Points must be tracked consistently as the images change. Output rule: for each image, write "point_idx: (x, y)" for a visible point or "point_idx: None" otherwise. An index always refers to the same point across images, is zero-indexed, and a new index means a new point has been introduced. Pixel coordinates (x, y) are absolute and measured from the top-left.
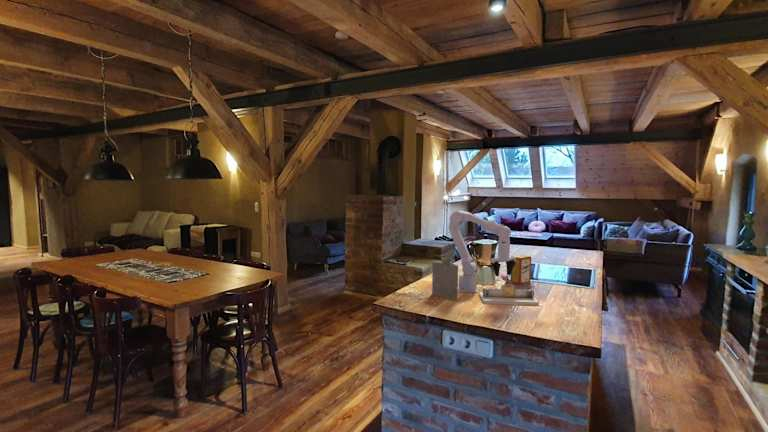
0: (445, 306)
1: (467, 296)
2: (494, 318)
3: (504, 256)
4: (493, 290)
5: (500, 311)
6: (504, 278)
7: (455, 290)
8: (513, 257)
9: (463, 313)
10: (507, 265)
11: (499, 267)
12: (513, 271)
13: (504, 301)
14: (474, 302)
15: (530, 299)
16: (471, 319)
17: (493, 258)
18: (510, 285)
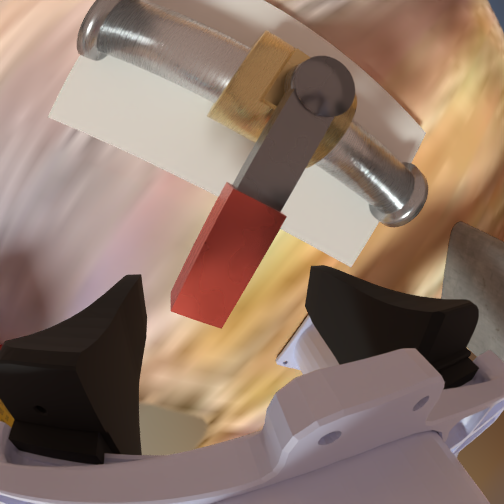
0: (500, 185)
1: (399, 258)
2: (456, 5)
3: (469, 494)
4: (384, 150)
5: (412, 17)
6: (297, 181)
7: (494, 237)
8: (6, 500)
9: (498, 101)
10: (133, 406)
11: (396, 302)
12: (9, 423)
13: (345, 57)
14: (432, 167)
15: (159, 2)
16: (499, 55)
17: (468, 442)
18: (306, 59)
